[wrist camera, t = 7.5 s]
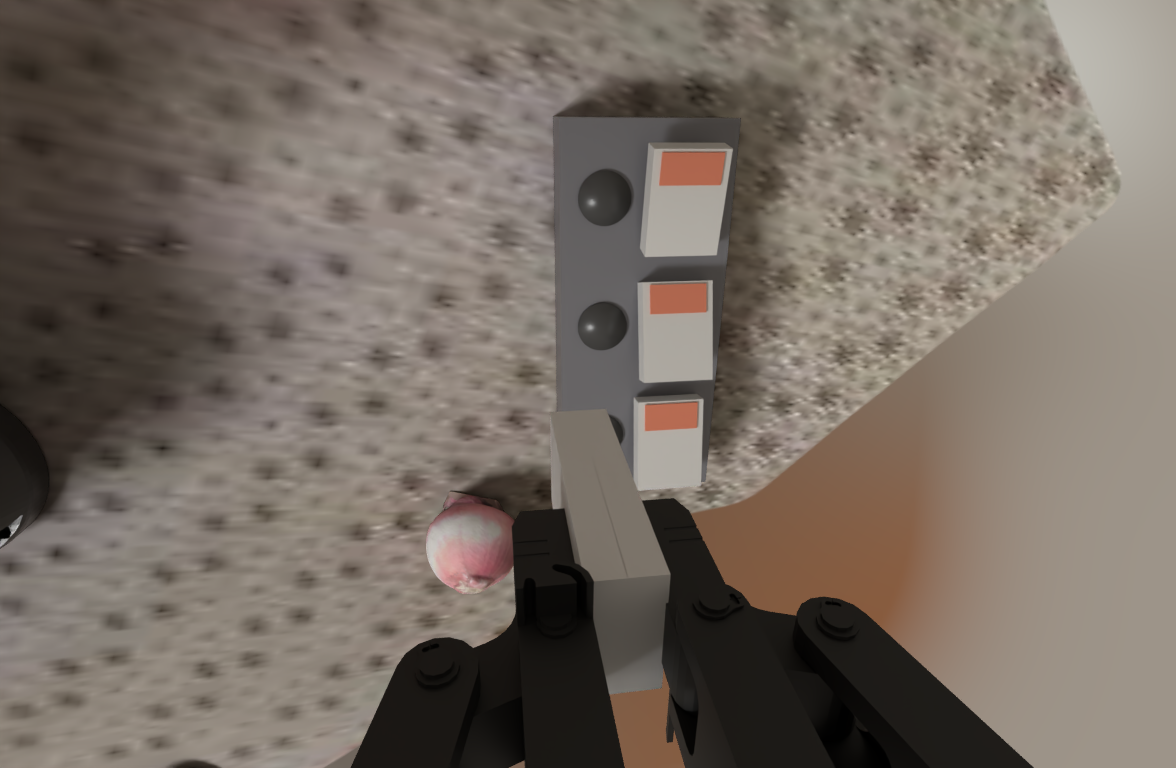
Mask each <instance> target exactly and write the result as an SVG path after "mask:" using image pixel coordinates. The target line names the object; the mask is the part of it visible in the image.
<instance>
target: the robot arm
mask: <svg viewBox="0 0 1176 768" xmlns="http://www.w3.org/2000/svg"><path fill="white" fill-rule="evenodd" d="M550 440H551V498H552V505H553V509H548V510H535V511H522V512H520V513H519V515H518V516H517V518H516V520H515V522H514V523H513V525H512V544H513V565H514V584H515V602H516V614H515V617H514V619H513V621H512V624H511V625H510V626H509V627H508V628H507V630H506V631H505V632H504V633H502V634H501V635H500V636H498V637H497V638H495V639H493V640H491V641H489V642H487V643H485V644H482V645H480V646H477V647H475V648H472V647H471V646H469V645H468V644H467V643H465V642H464V641H462V640H458V639H454V638H450V637H447V638H434V639H431V640H428V641H426V642H423V643H420V644H418V645H417V646H415V647H414V648H413V649H411V650H410V651H408V652H407V653H406V654H405V655H404V657H403V658H402V660H401V661H400V662H399V664H398V665H397V667H396V669H395V671H394V674H393V676H392V678H391V680H390V682H389V685H388V687H387V689H386V691H385V693H384V696H383V698H382V700H381V702H380V704H379V707H378V709H377V711H376V713H375V715H374V718H373V720H372V722H371V724H370V726H369V728H368V731H367V733H366V735H365V737H364V739H363V742H362V744H361V746H360V748H359V750H358V753H357V755H356V757H355V759H354V761H353V764H352V766H351V768H509V767H511V766H513V765H515V764H517V763H519V762H522V761H525V768H625V767H624V762H623V757H622V753H621V748H620V743H619V738H618V734H617V729H616V724H615V719H614V715H613V710H612V705H611V700H610V696H609V694H616V693H625V692H632V691H642V690H650V689H658V688H662V679H663V668H664V671H665V675H666V678H667V681H668V684H669V688H670V691H669V703H668V716H667V726H666V736H667V743H668V742H673V733H674V731H675V734H676V738H677V741H678V745H679V748H680V751H681V755H682V758H683V762H684V765H685V768H1033V767H1032V766H1031V765H1030V764H1029V763H1028V762H1027V761H1026V760H1025V759H1023V758H1022V756H1020V755H1019V754H1018V753H1017V752H1016V751H1015V750H1014V749H1013V748H1012V747H1010V746H1009V745H1008V744H1007V743H1006V742H1005V741H1004V740H1003V739H1002V738H1001V737H1000V736H999V735H997V734H996V733H995V732H994V731H993V730H992V729H991V728H990V727H989V726H988V725H987V724H986V723H985V722H983V721H982V720H981V719H980V718H979V717H978V716H977V715H976V714H975V713H974V712H973V711H971V710H970V709H969V708H968V707H967V706H966V705H965V704H964V703H963V702H962V701H960V700H959V699H958V698H957V697H956V696H955V695H954V694H953V693H952V692H951V691H949V689H947V688H946V687H945V686H944V685H943V684H942V683H941V682H940V681H939V680H937V678H936V677H934V676H933V675H932V674H931V673H930V672H929V671H928V670H927V669H926V668H925V667H923V666H922V665H921V664H920V663H919V662H918V661H917V660H916V659H915V658H914V657H912V655H910V654H909V653H908V652H907V651H906V650H905V649H904V648H903V647H902V646H901V645H899V644H898V643H897V642H896V641H895V640H894V639H893V638H892V637H891V636H890V635H889V634H888V633H886V632H885V631H884V630H883V629H882V628H881V627H880V626H879V625H878V624H877V623H876V622H874V621H873V620H872V619H871V618H870V617H869V616H868V615H867V614H866V613H864V612H863V611H861V610H860V609H859V608H857V607H856V606H854V605H853V604H850V603H848V602H845V601H843V600H840V599H836V598H829V597H818V598H811V599H809V600H807V601H806V602H804V603H802V604H801V606H800V608H799V610H798V611H797V615H796V616H795V615H788V614H781V613H775V612H768V611H764V610H760V609H757V608H754V607H752V606H751V605H750V604H749V602H748V601H747V599H746V598H745V597H744V596H743V594H742V593H740V592H739V591H737V590H736V589H734V588H733V587H731V586H729V585H726V584H725V582H724V580H723V578H722V576H721V574H720V572H719V570H718V568H717V566H716V564H715V562H714V560H713V558H712V556H711V554H710V552H709V550H708V548H707V546H706V544H705V542H704V541H703V540H702V536H701V534H700V532H699V530H698V529H697V528H696V524H695V522H694V520H693V518H692V516H691V514H690V512H689V510H688V509H686V508H685V507H684V506H683V505H681V504H680V503H679V502H678V501H676V500H675V499H674V498H671V499H658V500H645V501H642V500H641V497H640V495H639V492H638V490H637V487H636V485H635V482H634V479H633V477H632V474H631V472H630V469H629V467H628V464H627V462H626V459H625V456H624V454H623V451H622V449H621V446H620V444H619V441H618V438H617V436H616V433H615V431H614V428H613V426H612V423H611V421H610V418H609V415H608V413H607V410H606V409H596V410H579V411H561V412H550ZM48 487H49V477H48V470H47V466H46V462H45V459H44V457H43V454H42V452H41V450H40V448H39V446H38V444H37V443H36V441H35V440H34V438H33V437H32V435H31V434H30V433H29V431H28V430H27V429H26V428H25V427H24V426H23V425H22V423H21V422H20V421H19V420H18V419H17V418H15V417H14V416H13V415H12V414H11V413H10V412H9V411H7V410H6V409H5V408H4V407H2V406H1V405H0V549H1V548H2V547H4V546H5V545H7V544H8V543H9V542H11V541H12V540H13V539H14V538H15V537H16V536H18V535H19V534H20V533H21V532H22V531H23V530H24V529H25V528H26V527H27V526H29V525H30V524H31V523H32V522H33V521H34V520H35V518H36V517H37V516H38V515H39V513H40V512H41V510H42V508H43V506H44V504H45V501H46V498H47V494H48Z"/></svg>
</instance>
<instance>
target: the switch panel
mask: <svg viewBox="0 0 1176 768" xmlns="http://www.w3.org/2000/svg"><path fill="white" fill-rule="evenodd" d="M740 122H741V118H724V117H606V116H553V141H554V222H555V302H556V382H557V412H561V411H579V410H596V409H606V410H607V413H608V415H609V418H610V421H611V423H612V426H613V428H614V431H615V433H616V436H617V438H618V441H619V444H620V446H621V449H622V451H623V454H624V456H625V459H626V462H627V464H628V467H629V469H630V472H631V474H632V477H633V479H634V397H647V396H665V395H683V394H698V395H699V396H700V397H702V398H703V433H702V469H701V482H705V480H706V470H707V460H708V450H709V440H710V429H711V419H712V409H713V399H714V388H715V378H716V368H717V358H718V347H719V337H720V327H721V317H722V306H723V296H724V286H725V276H726V266H727V255H728V245H729V235H730V225H731V214H732V204H733V194H734V184H735V173H736V163H737V153H738V143H739V133H740ZM649 143H726V144H727V145H729V146H730V147H731V148H733V152H732V158H731V165H730V171H729V178H728V184H727V191H726V197H725V204H724V210H723V217H722V223H721V229H720V236H719V242H718V249H717V255H708V256H666V257H645V256H644V255H643V253H642V251H641V249H640V241H641V229H642V217H643V205H644V193H645V181H646V169H647V157H648V145H649ZM708 280H713V380H693V381H674V382H654V383H643V382H642V381H640V380H639V338H638V283H641V282H673V281H708Z"/></svg>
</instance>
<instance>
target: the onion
mask: <svg viewBox="0 0 1176 768" xmlns="http://www.w3.org/2000/svg"><path fill="white" fill-rule="evenodd" d="M446 507H450V508H448V509H446V510H444V508H446ZM514 522H515V521H514V520H513V518H511V517H510V516H509V515H508V514H506V513H505V512H504V510H503V508H502V507H501V505H500V503H499V501H498V500H494V499H488V498H483V497H478V496H472V495H467V494H462V493H457V492H451V491H450V492H449V494H448V496H447V499H446V501H445V503H444V505H443V512H441V513H440V514H439V515H438V516H437V517H436V518H435V519H434V521H433V522H432V523H431V524H430V527H429V530H428V533H427V539H426V551H427V556H428V560H429V563H430V565H431V568H432V569H433V571H434V573H435V574H436V576H437V577H438V578H439V579H440V580H441V581H442V582H443V583H445V584H446V585H448V586H450V587H451V588H454V589H456V590H457V591H458V592H460V593H463V594H474V593H480V592H482V591H484V590H486V589H487V588H488V587H490V586H492V585H494V584H496V583H498V582H499V581H501V580H502V579H503V578H505V577H506V575H507V574H508V573H509V572H510V570H511V569H512V567H513V544H512V525H513V523H514Z"/></svg>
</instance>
